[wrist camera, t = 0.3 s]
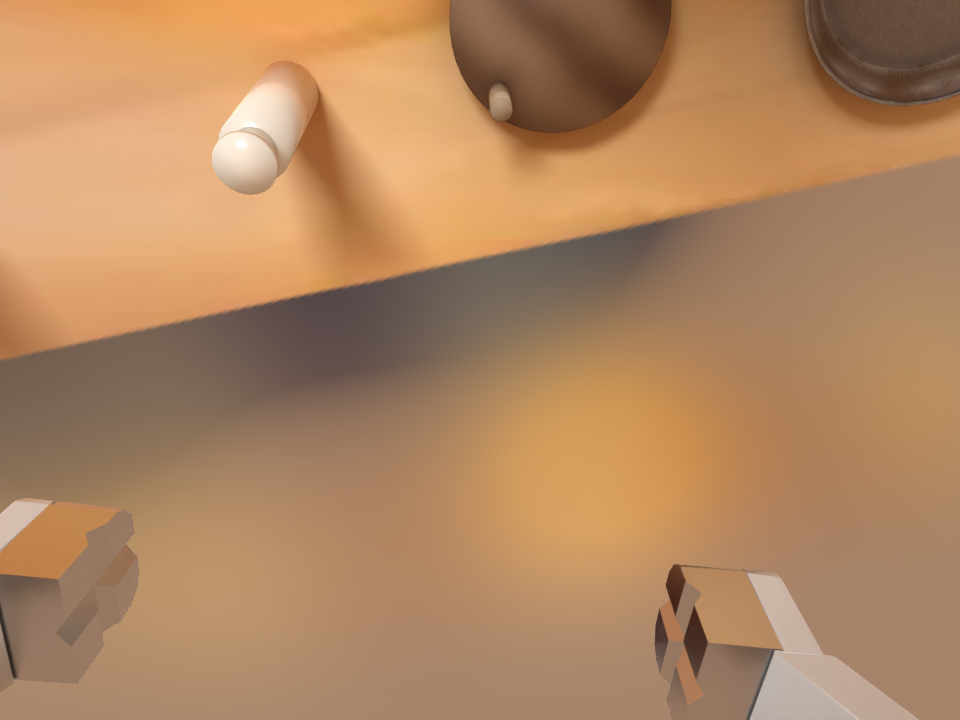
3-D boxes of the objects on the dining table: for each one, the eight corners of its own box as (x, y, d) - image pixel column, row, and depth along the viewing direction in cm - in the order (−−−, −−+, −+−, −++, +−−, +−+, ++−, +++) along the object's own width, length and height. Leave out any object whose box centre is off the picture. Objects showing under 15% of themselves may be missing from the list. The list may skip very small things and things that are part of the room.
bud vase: (279, 47, 53) (229, 113, 41) (330, 88, 55) (295, 161, 43) (249, 93, 55) (193, 168, 43) (298, 131, 57) (258, 212, 45)
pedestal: (558, -174, 45) (571, -172, 40) (706, 6, 51) (733, 27, 46) (406, 25, 52) (400, 49, 47) (554, 160, 59) (563, 193, 54)
